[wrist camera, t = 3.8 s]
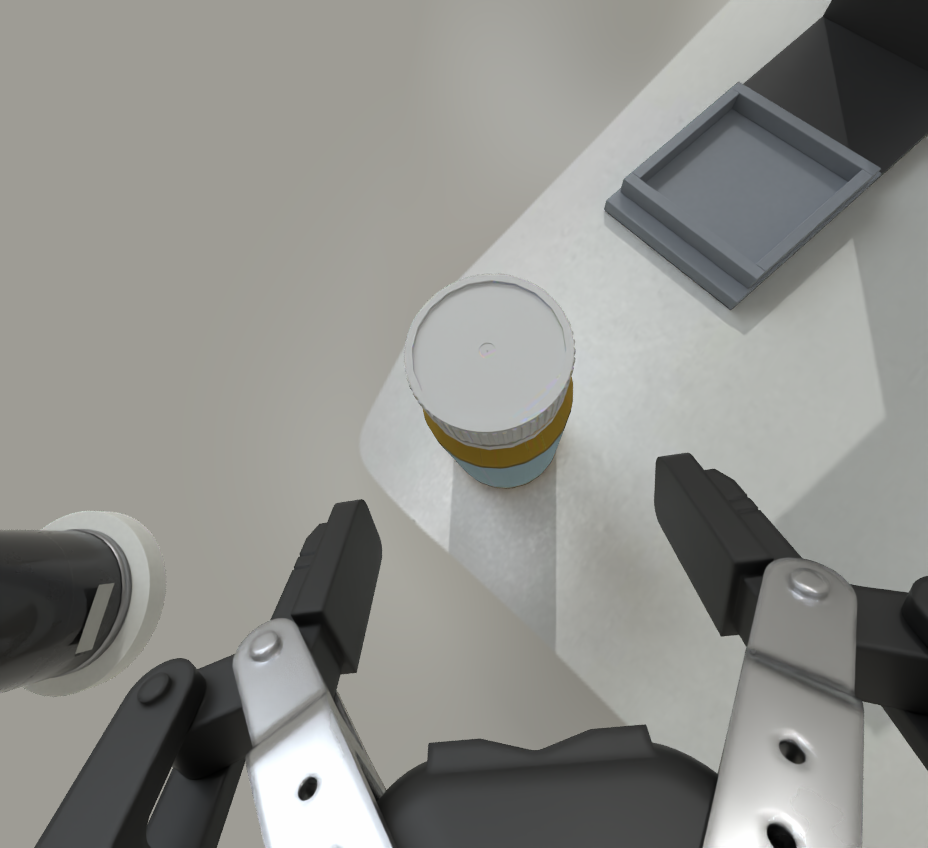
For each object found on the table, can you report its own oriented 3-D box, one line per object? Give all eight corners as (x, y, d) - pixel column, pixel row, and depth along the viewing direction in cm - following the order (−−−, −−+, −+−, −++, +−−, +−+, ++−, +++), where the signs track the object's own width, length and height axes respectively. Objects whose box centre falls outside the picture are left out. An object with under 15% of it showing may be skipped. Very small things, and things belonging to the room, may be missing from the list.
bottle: (451, 486, 29) (380, 441, 15) (459, 388, 31) (402, 263, 17) (555, 492, 28) (587, 450, 14) (557, 391, 30) (588, 260, 16)
